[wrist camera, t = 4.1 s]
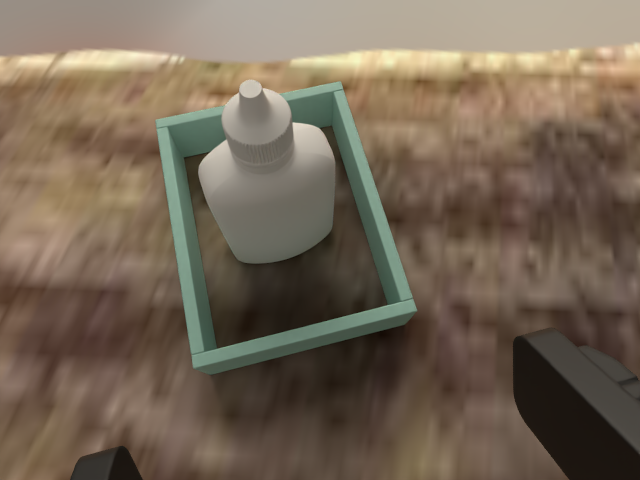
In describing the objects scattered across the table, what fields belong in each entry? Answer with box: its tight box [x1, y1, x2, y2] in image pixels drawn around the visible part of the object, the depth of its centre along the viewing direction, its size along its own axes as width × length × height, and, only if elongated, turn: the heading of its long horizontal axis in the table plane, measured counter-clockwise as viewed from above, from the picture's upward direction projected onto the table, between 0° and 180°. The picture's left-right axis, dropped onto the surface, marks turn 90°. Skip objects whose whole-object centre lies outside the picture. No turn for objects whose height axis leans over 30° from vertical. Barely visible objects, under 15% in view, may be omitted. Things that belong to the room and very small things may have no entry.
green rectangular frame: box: [155, 81, 417, 375], centre depth 24 cm, size 13×10×3 cm
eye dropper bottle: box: [198, 80, 335, 264], centre depth 20 cm, size 4×6×12 cm
